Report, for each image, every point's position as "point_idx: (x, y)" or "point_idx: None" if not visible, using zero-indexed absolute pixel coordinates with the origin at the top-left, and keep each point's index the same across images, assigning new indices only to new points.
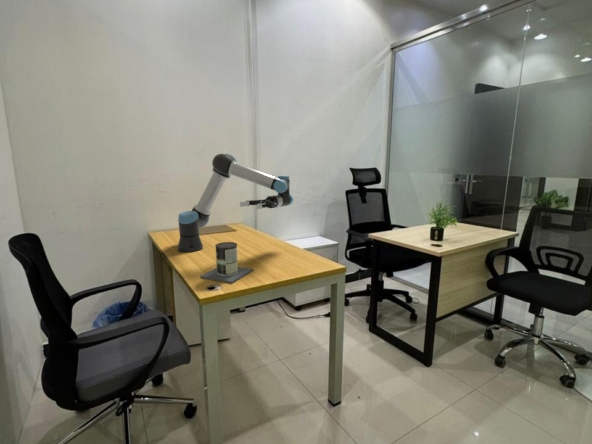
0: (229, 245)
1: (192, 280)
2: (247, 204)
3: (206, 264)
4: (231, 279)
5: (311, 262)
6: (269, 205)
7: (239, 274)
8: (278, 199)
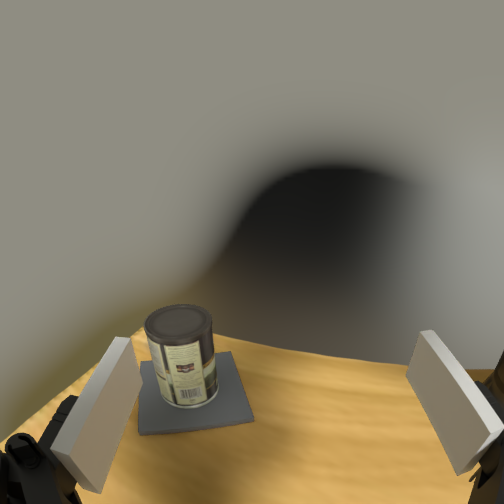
0: (164, 322)
1: (233, 343)
2: (454, 439)
3: (312, 404)
4: (148, 366)
5: None
6: (16, 464)
7: (149, 391)
8: None
